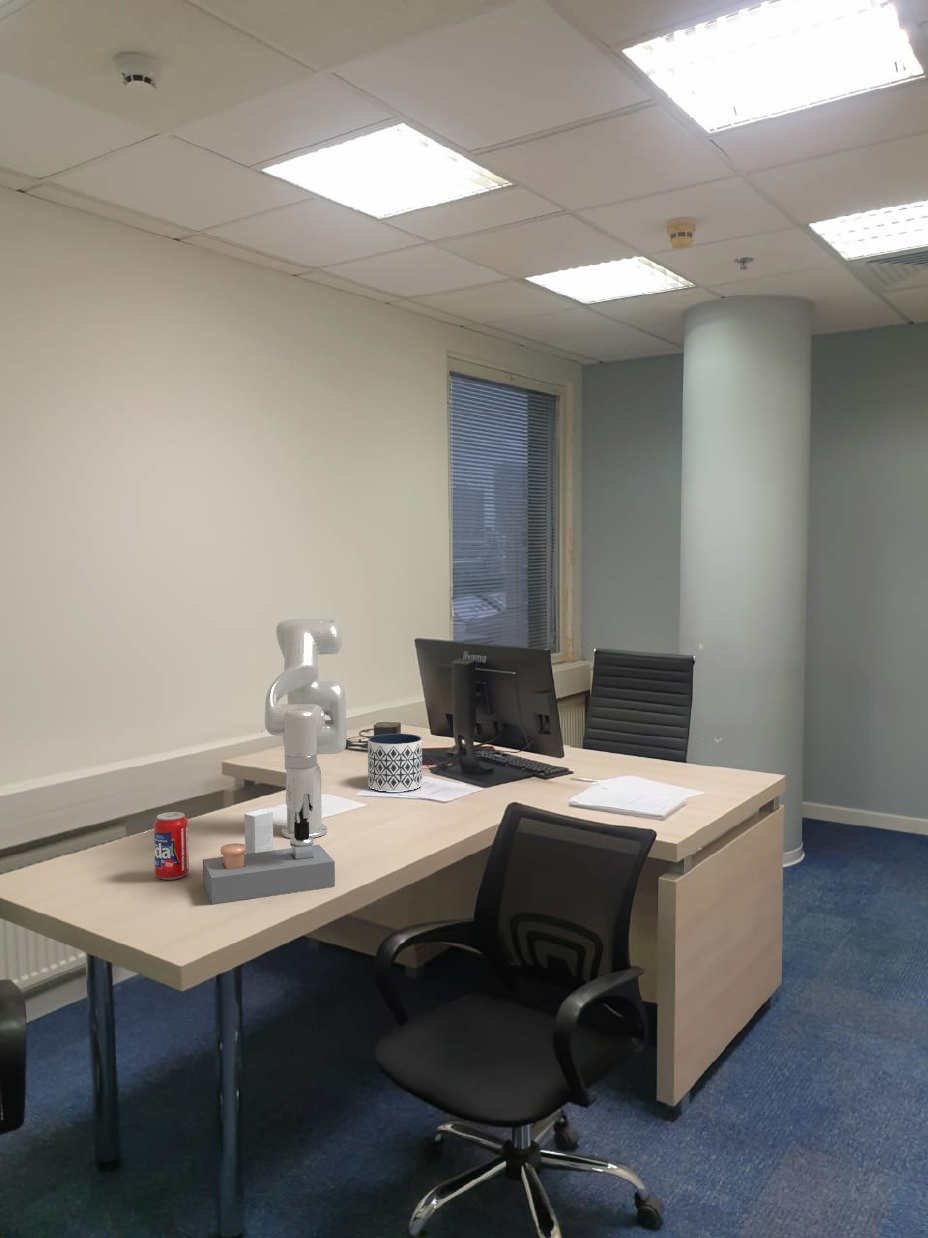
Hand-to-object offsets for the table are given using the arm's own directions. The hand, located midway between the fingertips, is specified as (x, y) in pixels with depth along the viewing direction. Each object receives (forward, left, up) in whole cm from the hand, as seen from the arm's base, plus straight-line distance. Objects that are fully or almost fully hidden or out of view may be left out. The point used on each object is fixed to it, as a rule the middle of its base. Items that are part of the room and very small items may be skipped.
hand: (301, 838), depth 220 cm
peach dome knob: (0, -16, -6) cm, 17 cm away
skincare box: (-21, -6, -11) cm, 24 cm away
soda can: (-16, -28, -11) cm, 34 cm away
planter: (-78, +51, -11) cm, 94 cm away
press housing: (0, -8, -10) cm, 13 cm away
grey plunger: (0, 0, -6) cm, 6 cm away
